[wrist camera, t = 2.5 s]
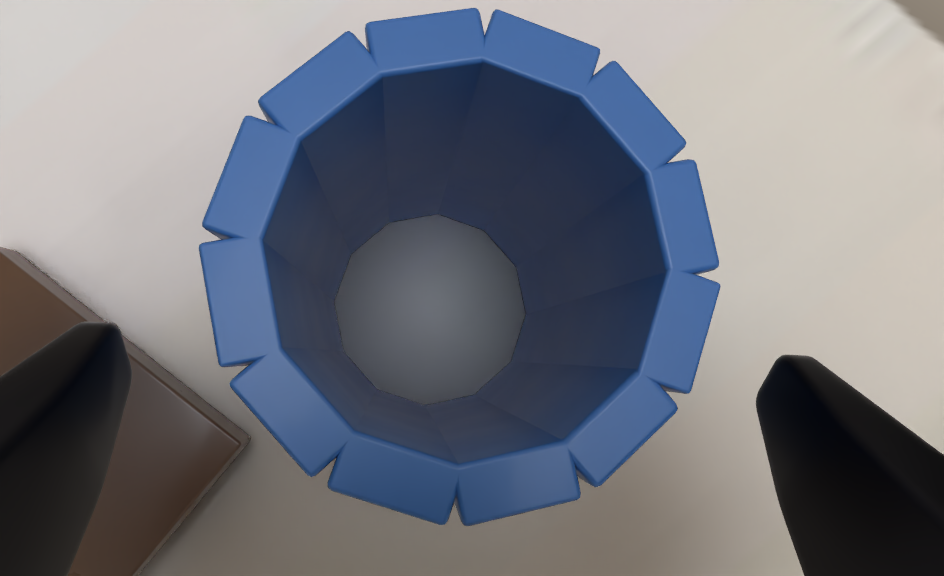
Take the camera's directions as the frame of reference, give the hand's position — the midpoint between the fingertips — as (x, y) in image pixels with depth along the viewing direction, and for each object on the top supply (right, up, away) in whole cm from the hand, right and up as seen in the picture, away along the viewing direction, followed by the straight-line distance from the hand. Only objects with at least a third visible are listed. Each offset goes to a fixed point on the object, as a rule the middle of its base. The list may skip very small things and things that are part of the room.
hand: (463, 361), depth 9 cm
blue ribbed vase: (-1, 0, +10) cm, 10 cm away
